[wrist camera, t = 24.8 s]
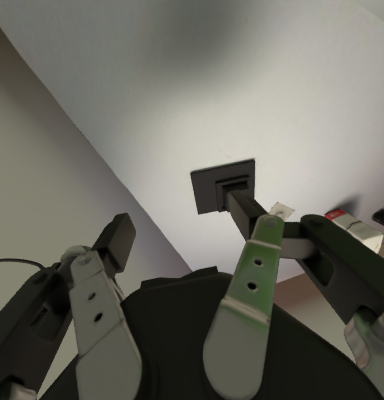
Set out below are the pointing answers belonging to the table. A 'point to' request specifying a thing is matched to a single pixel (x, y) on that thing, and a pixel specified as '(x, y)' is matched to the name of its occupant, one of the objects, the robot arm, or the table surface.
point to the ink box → (357, 229)
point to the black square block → (233, 187)
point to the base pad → (220, 184)
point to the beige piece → (281, 211)
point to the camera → (379, 217)
